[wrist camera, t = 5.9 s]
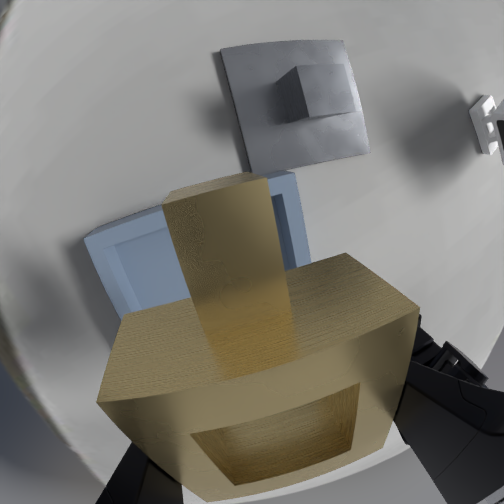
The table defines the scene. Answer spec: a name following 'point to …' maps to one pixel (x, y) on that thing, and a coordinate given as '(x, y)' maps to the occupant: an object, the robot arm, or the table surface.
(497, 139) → the security camera
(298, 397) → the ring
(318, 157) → the grey peg base
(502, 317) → the table surface
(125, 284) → the tray
